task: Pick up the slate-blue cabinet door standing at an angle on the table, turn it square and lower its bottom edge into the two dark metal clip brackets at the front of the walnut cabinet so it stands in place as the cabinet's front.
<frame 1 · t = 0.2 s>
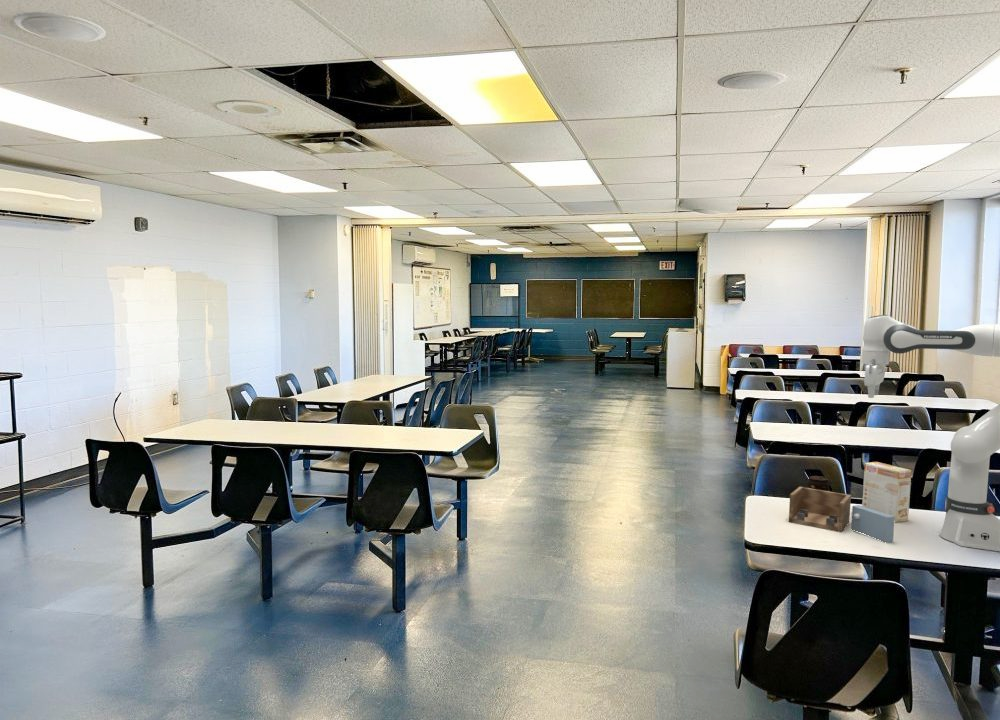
hand: (873, 396, 252), 47 cm above the table, tool pointing down, fingers open, 8 cm apart
coffeecake box: (884, 516, 263), on the table
coffee cup: (817, 510, 269), on the table
door: (871, 536, 240), on the table
cabinet: (818, 522, 254), on the table
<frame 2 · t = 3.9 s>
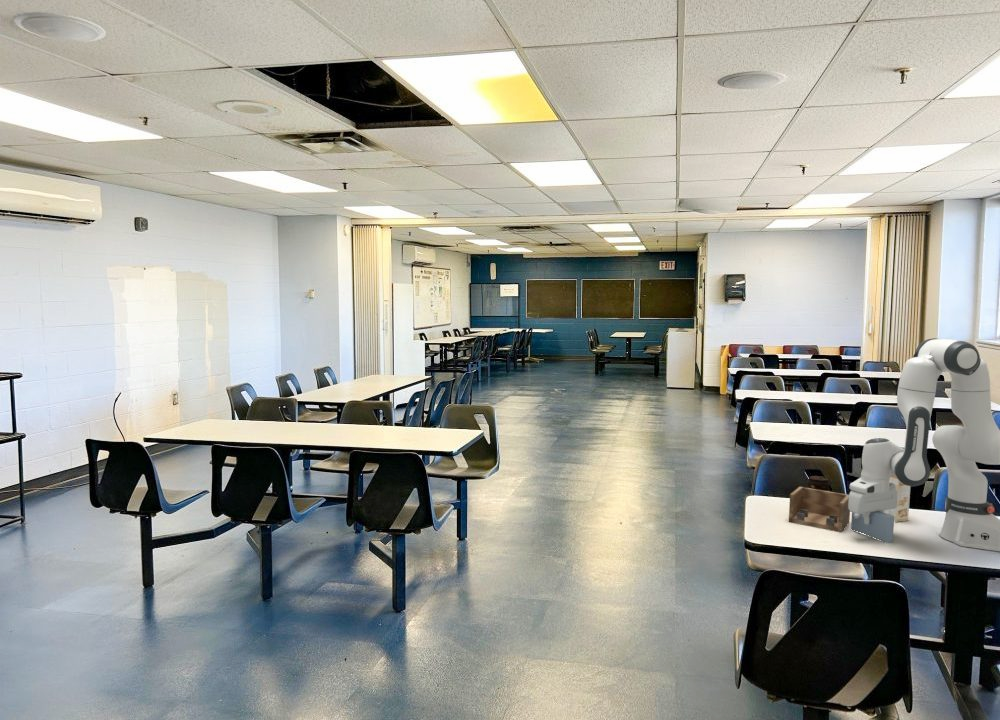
hand: (872, 523, 239), 5 cm above the table, tool pointing down, fingers closed on door, 3 cm apart
door: (871, 535, 240), on the table, touching gripper
everything else where it was.
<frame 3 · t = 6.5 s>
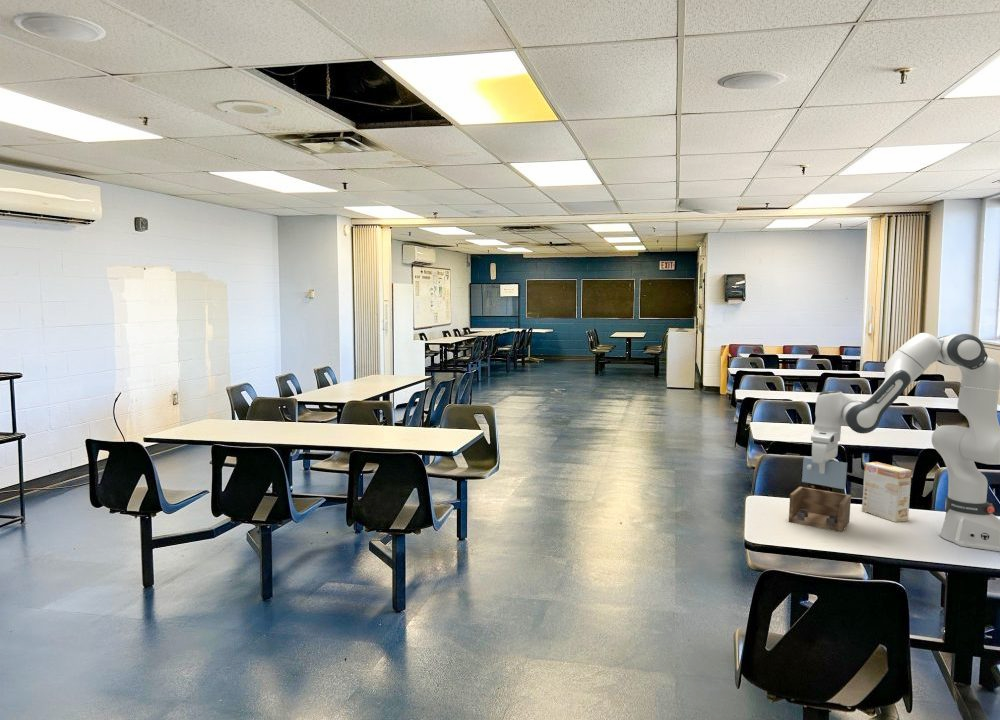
hand: (824, 472, 248), 20 cm above the table, tool pointing down, fingers closed on door, 3 cm apart
door: (823, 484, 248), point 15 cm above the table, touching gripper
everything else where it was.
when the fingers open (7 cm above the table, at t = 9.1 s): door drops 1 cm, resting on cabinet.
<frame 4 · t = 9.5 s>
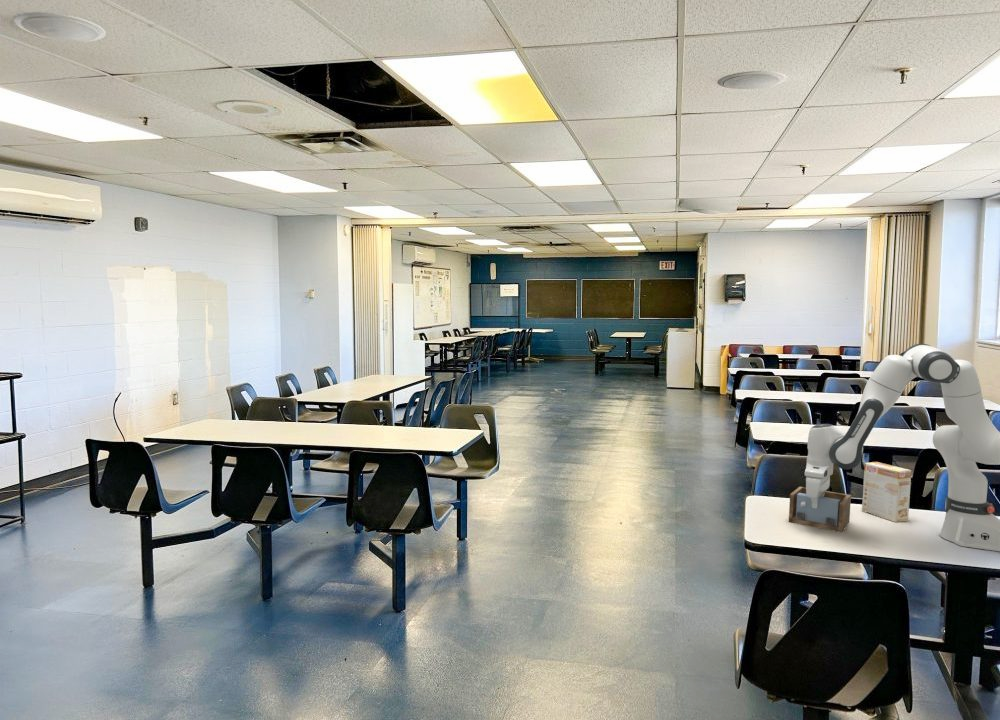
hand: (817, 505, 250), 7 cm above the table, tool pointing down, fingers open, 7 cm apart
door: (817, 521, 250), point 1 cm above the table, touching cabinet
everything else where it was.
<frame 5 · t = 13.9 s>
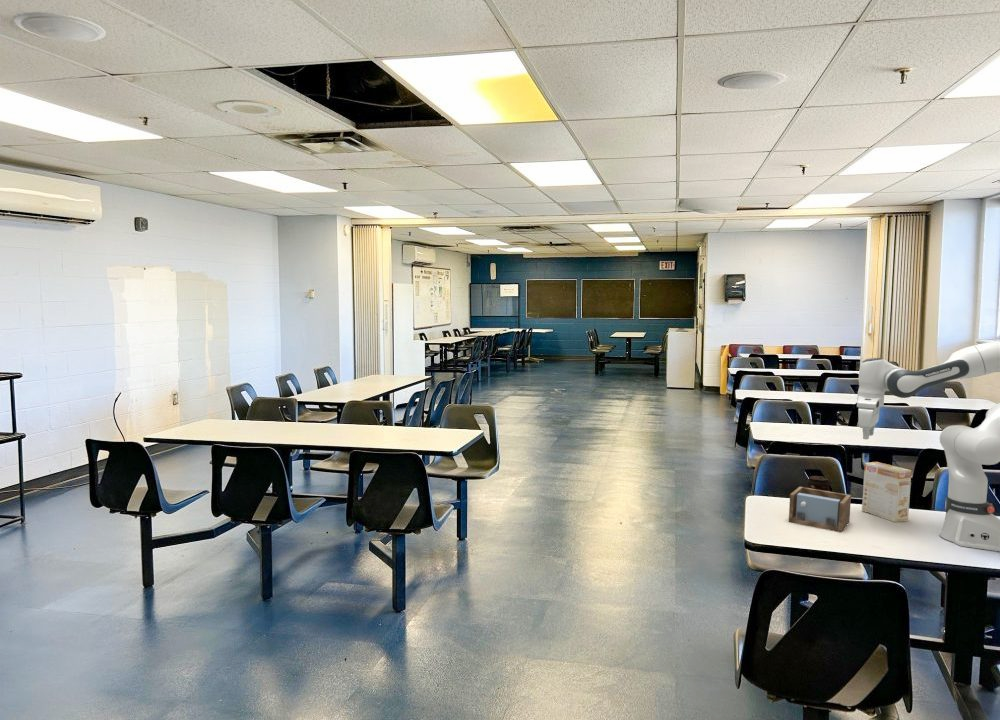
hand: (868, 437, 257), 31 cm above the table, tool pointing down, fingers open, 8 cm apart
nothing on the table moved.
at the end: door 0.3 cm from the target spot on the cabinet, point 1.5 cm above the cabinet's base; door tilted 0°; the gripper is holding nothing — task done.
